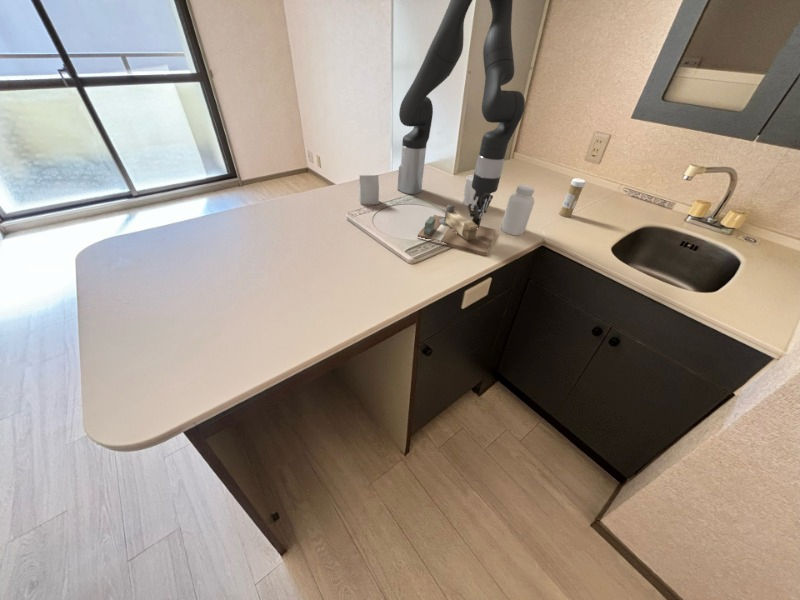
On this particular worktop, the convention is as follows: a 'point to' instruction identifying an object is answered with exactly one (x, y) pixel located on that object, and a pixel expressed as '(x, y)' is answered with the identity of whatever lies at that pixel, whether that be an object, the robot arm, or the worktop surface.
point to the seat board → (457, 236)
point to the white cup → (468, 191)
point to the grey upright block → (369, 189)
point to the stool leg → (460, 224)
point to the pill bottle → (518, 210)
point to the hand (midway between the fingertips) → (474, 227)
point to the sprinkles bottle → (572, 197)
